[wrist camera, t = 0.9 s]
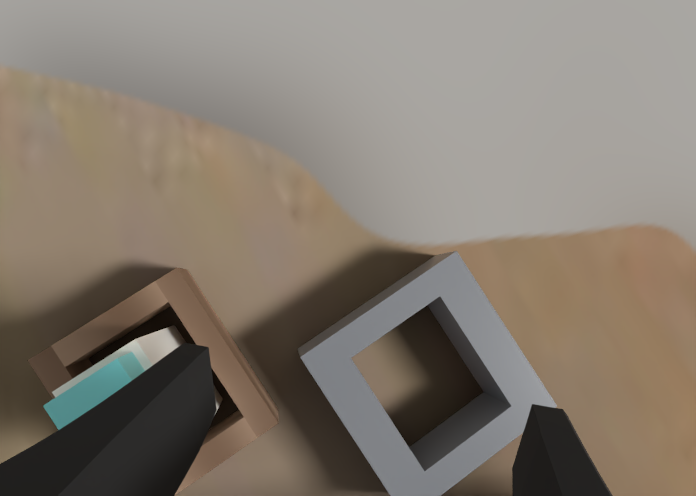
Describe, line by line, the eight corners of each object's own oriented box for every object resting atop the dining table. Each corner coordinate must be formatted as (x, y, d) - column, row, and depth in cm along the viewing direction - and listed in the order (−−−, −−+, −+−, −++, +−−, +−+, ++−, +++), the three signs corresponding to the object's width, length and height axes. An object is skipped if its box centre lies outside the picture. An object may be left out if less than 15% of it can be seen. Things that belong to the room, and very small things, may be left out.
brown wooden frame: (150, 497, 22) (134, 523, 20) (55, 352, 22) (27, 360, 20) (278, 408, 23) (278, 423, 21) (187, 269, 23) (176, 267, 21)
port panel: (391, 492, 24) (407, 521, 21) (297, 348, 24) (300, 357, 21) (524, 392, 25) (557, 406, 22) (435, 255, 25) (456, 251, 22)
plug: (164, 438, 23) (103, 518, 15) (114, 363, 23) (27, 403, 15) (222, 399, 23) (194, 456, 15) (174, 324, 23) (120, 344, 15)
